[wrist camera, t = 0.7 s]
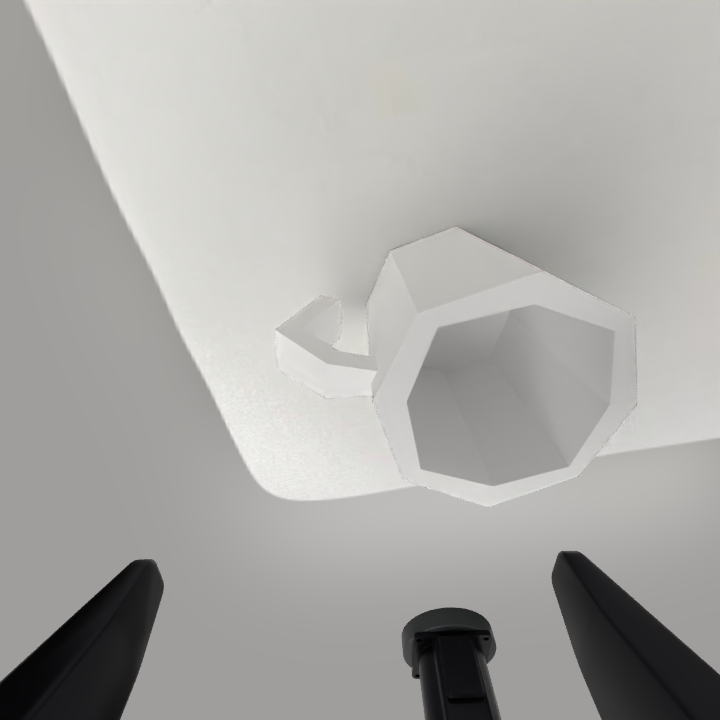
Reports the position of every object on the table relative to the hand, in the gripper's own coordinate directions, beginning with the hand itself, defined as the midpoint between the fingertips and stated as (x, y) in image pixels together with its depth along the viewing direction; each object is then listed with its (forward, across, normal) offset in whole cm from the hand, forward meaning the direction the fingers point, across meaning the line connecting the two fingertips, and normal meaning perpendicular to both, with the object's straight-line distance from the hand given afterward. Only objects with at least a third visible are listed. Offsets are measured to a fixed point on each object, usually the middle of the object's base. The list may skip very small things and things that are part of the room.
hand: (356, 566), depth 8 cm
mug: (+14, -3, -1) cm, 15 cm away
